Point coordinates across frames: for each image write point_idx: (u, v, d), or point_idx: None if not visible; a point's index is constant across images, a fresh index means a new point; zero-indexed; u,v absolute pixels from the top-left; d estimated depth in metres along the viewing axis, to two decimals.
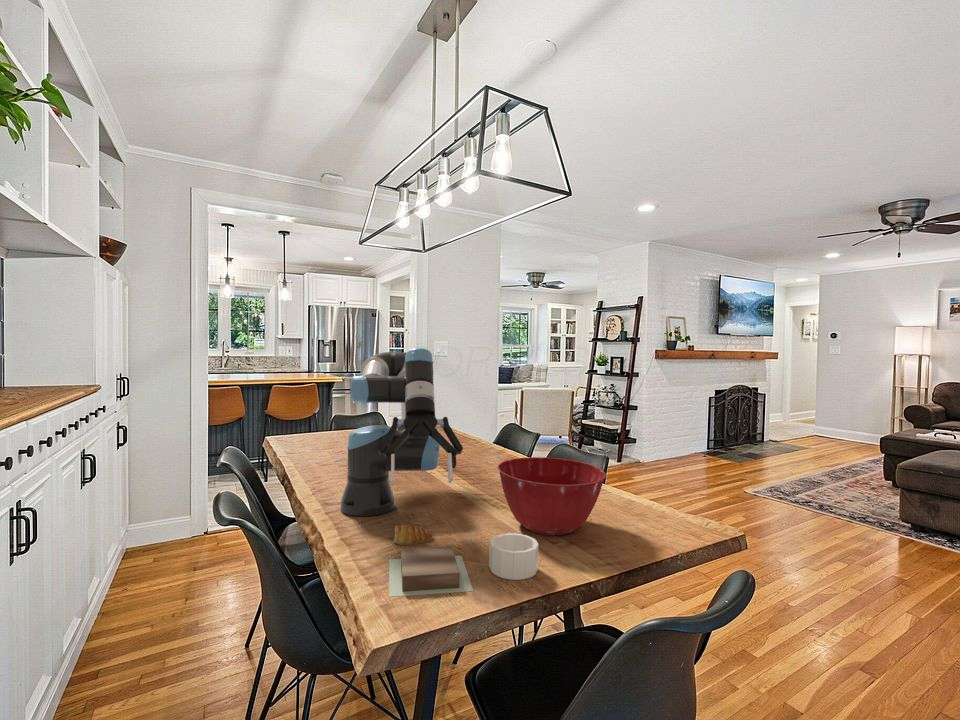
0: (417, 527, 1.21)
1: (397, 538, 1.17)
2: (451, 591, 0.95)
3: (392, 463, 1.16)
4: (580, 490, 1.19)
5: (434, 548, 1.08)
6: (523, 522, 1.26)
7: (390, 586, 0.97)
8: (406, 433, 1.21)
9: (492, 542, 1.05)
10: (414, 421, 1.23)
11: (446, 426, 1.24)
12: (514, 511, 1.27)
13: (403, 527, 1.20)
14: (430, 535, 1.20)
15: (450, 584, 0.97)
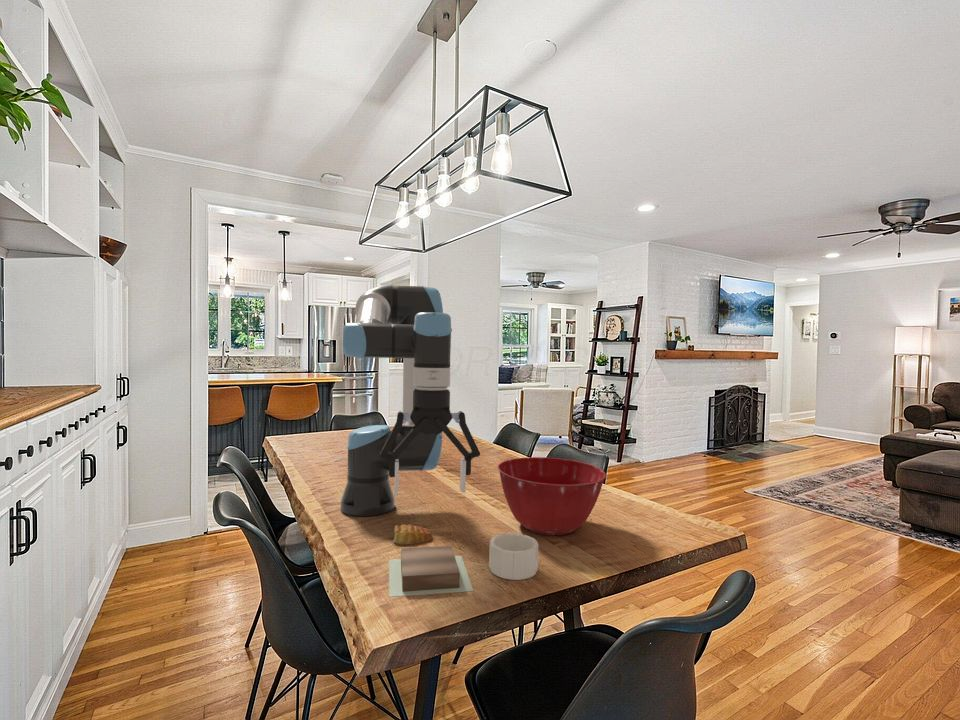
0: (417, 527, 1.21)
1: (397, 538, 1.17)
2: (451, 591, 0.95)
3: (396, 474, 0.99)
4: (580, 490, 1.19)
5: (434, 548, 1.08)
6: (523, 522, 1.26)
7: (390, 586, 0.97)
8: (413, 435, 1.00)
9: (492, 542, 1.05)
10: (423, 421, 0.99)
11: (462, 425, 1.02)
12: (514, 511, 1.27)
13: (403, 527, 1.20)
14: (430, 535, 1.20)
15: (450, 584, 0.97)
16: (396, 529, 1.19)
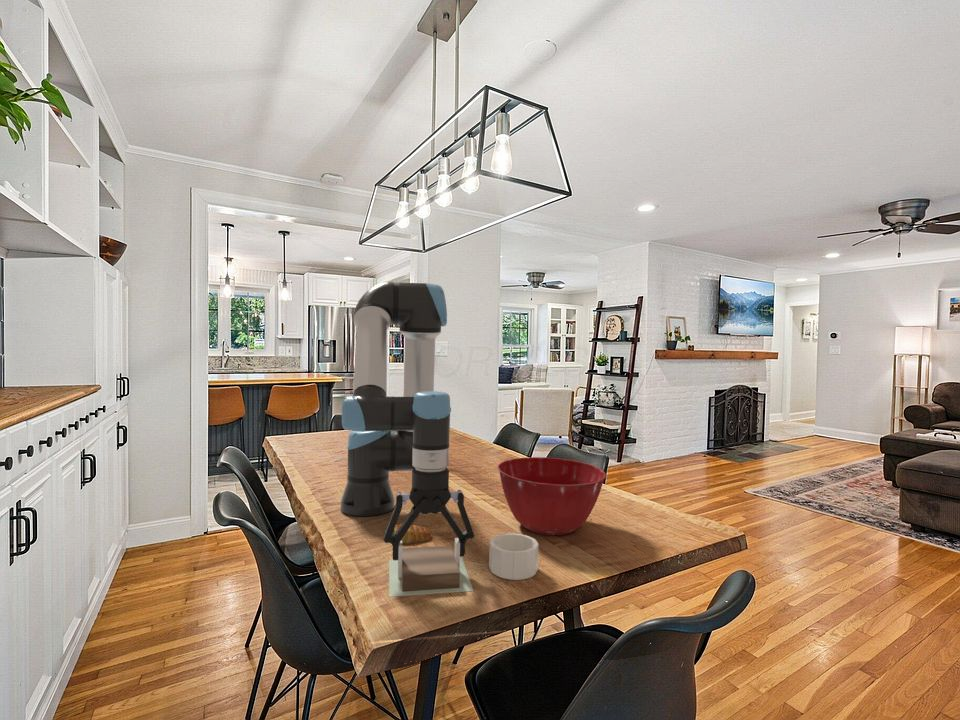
0: (416, 526, 1.22)
1: None
2: (451, 591, 0.95)
3: (399, 557, 1.00)
4: (580, 490, 1.19)
5: (434, 548, 1.08)
6: (523, 522, 1.26)
7: (390, 586, 0.97)
8: (414, 517, 1.00)
9: (492, 542, 1.05)
10: (422, 502, 1.00)
11: (460, 506, 1.02)
12: (514, 511, 1.27)
13: None
14: (429, 534, 1.21)
15: (450, 584, 0.97)
16: (395, 528, 1.19)
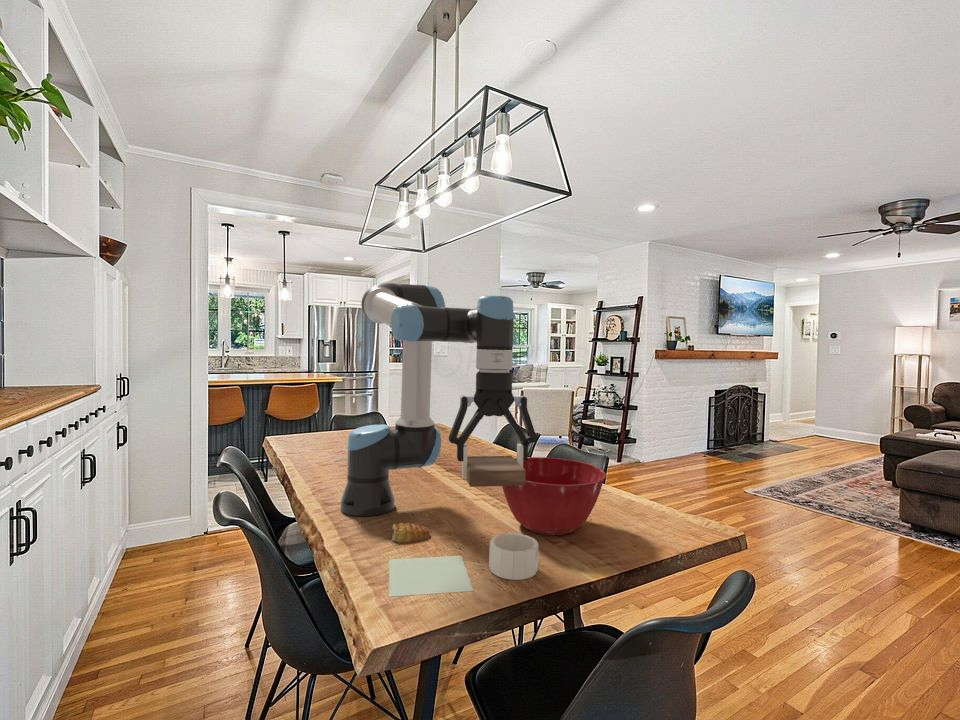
0: (415, 525, 1.22)
1: (396, 536, 1.18)
2: (451, 591, 0.95)
3: (465, 458, 1.01)
4: (580, 490, 1.19)
5: (495, 457, 1.09)
6: (523, 522, 1.26)
7: (390, 586, 0.97)
8: (479, 418, 1.01)
9: (492, 542, 1.05)
10: (487, 403, 1.01)
11: (523, 409, 1.03)
12: (514, 511, 1.27)
13: (401, 525, 1.21)
14: (428, 532, 1.22)
15: (516, 481, 0.98)
16: (395, 527, 1.20)
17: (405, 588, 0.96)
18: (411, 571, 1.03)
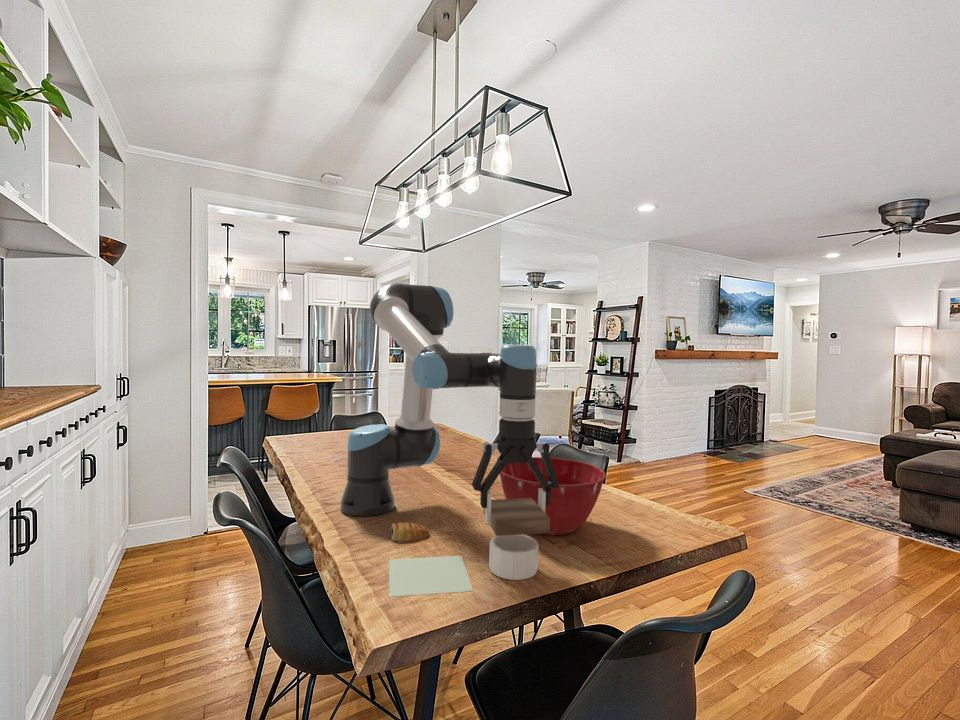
0: (414, 524, 1.23)
1: (396, 535, 1.19)
2: (451, 591, 0.95)
3: (489, 505, 1.03)
4: (580, 490, 1.19)
5: (516, 500, 1.11)
6: None
7: (390, 586, 0.97)
8: (502, 465, 1.03)
9: (492, 542, 1.05)
10: (511, 451, 1.02)
11: (545, 456, 1.05)
12: None
13: (400, 524, 1.22)
14: (427, 531, 1.22)
15: (541, 529, 0.99)
16: (394, 527, 1.20)
17: (405, 588, 0.96)
18: (411, 571, 1.03)
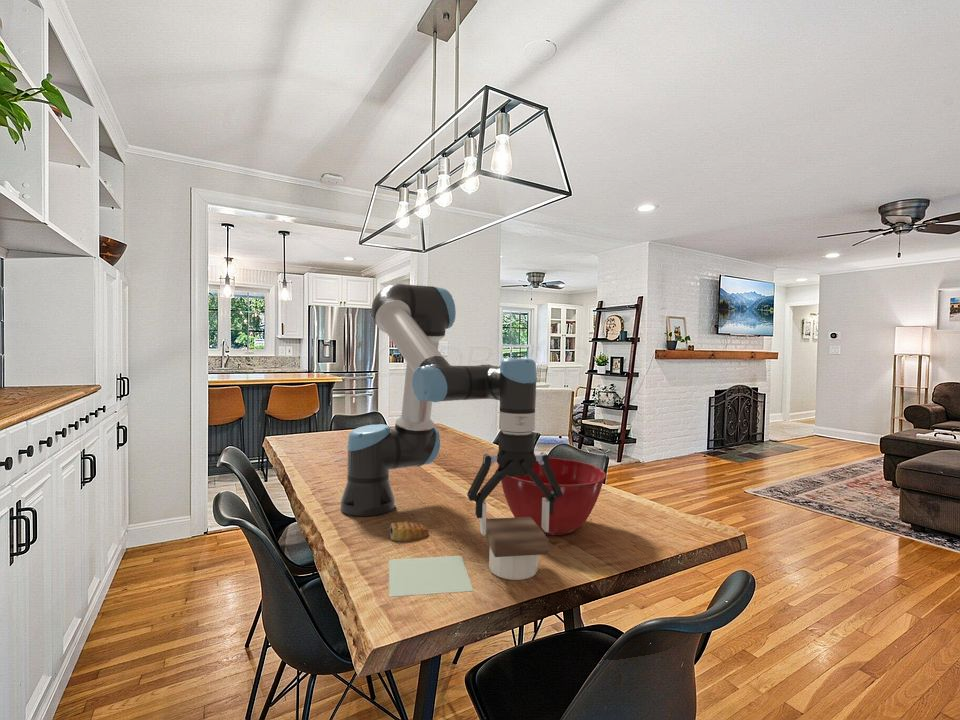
0: (413, 523, 1.23)
1: (395, 535, 1.19)
2: (451, 591, 0.95)
3: (484, 515, 1.03)
4: (580, 490, 1.19)
5: (515, 519, 1.11)
6: None
7: (390, 586, 0.97)
8: (500, 478, 1.03)
9: None
10: (510, 464, 1.03)
11: (546, 467, 1.05)
12: (514, 511, 1.27)
13: (399, 524, 1.22)
14: (426, 530, 1.23)
15: (540, 550, 1.00)
16: (393, 526, 1.20)
17: (405, 588, 0.96)
18: (411, 571, 1.03)
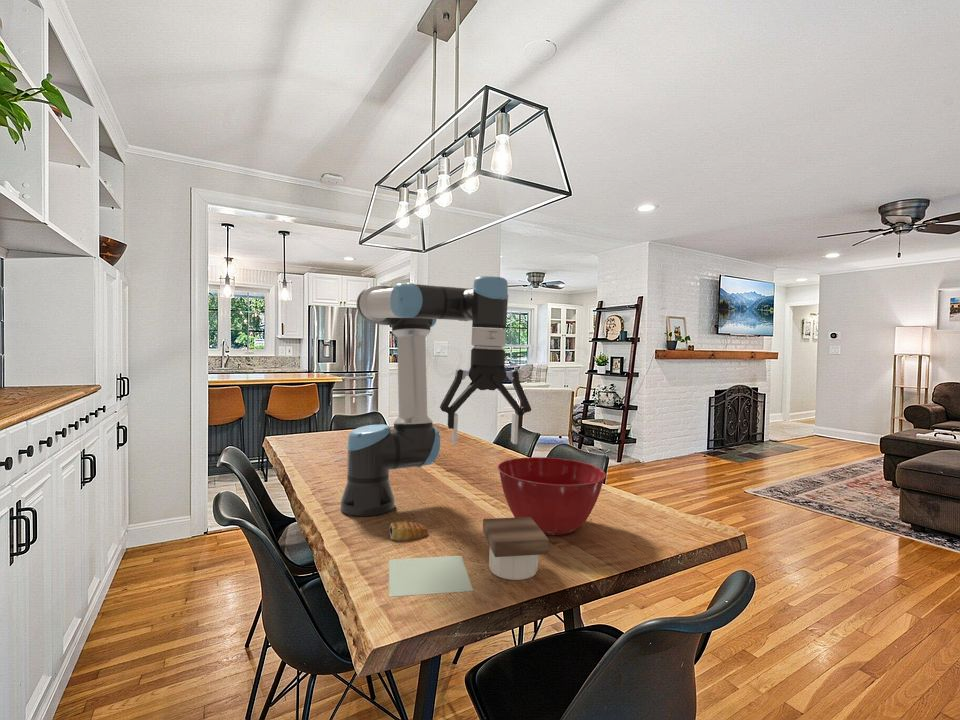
0: (412, 523, 1.24)
1: (395, 534, 1.19)
2: (451, 591, 0.95)
3: (455, 425, 1.08)
4: (580, 490, 1.19)
5: (515, 519, 1.11)
6: None
7: (390, 586, 0.97)
8: (471, 391, 1.08)
9: None
10: (481, 377, 1.07)
11: (516, 383, 1.10)
12: (514, 511, 1.27)
13: (399, 524, 1.22)
14: (426, 530, 1.23)
15: (540, 550, 1.00)
16: (393, 526, 1.21)
17: (405, 588, 0.96)
18: (411, 571, 1.03)
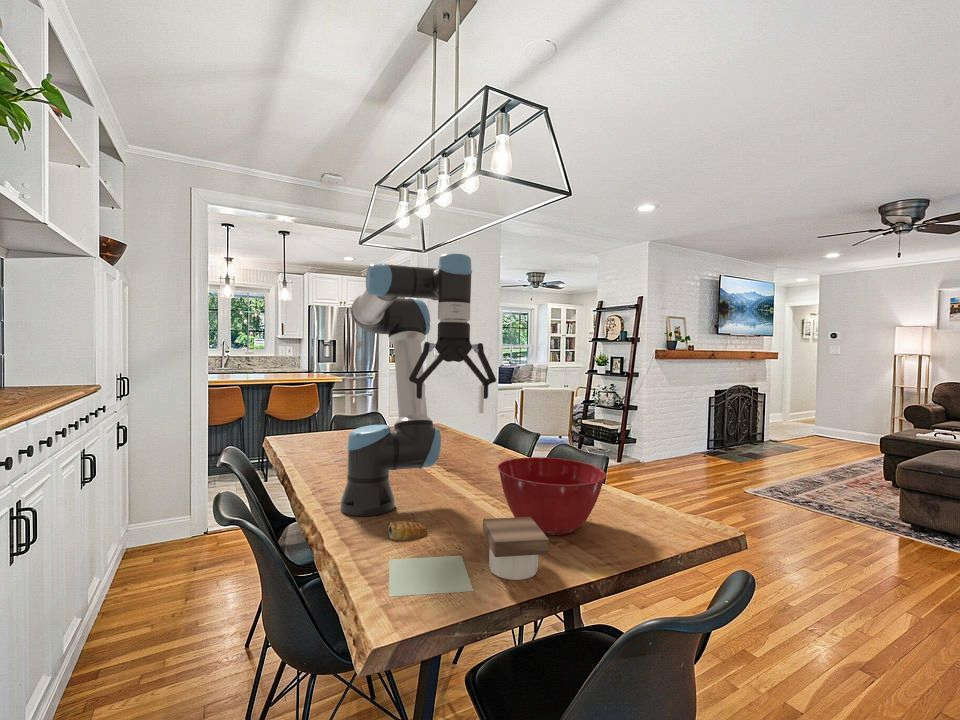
0: (412, 522, 1.24)
1: (394, 534, 1.19)
2: (451, 591, 0.95)
3: (423, 395, 1.13)
4: (580, 490, 1.19)
5: (515, 519, 1.11)
6: None
7: (390, 586, 0.97)
8: (438, 362, 1.14)
9: None
10: (447, 349, 1.13)
11: (481, 354, 1.16)
12: (514, 511, 1.27)
13: (398, 523, 1.23)
14: (425, 529, 1.23)
15: (540, 550, 1.00)
16: (392, 526, 1.21)
17: (405, 588, 0.96)
18: (411, 571, 1.03)
